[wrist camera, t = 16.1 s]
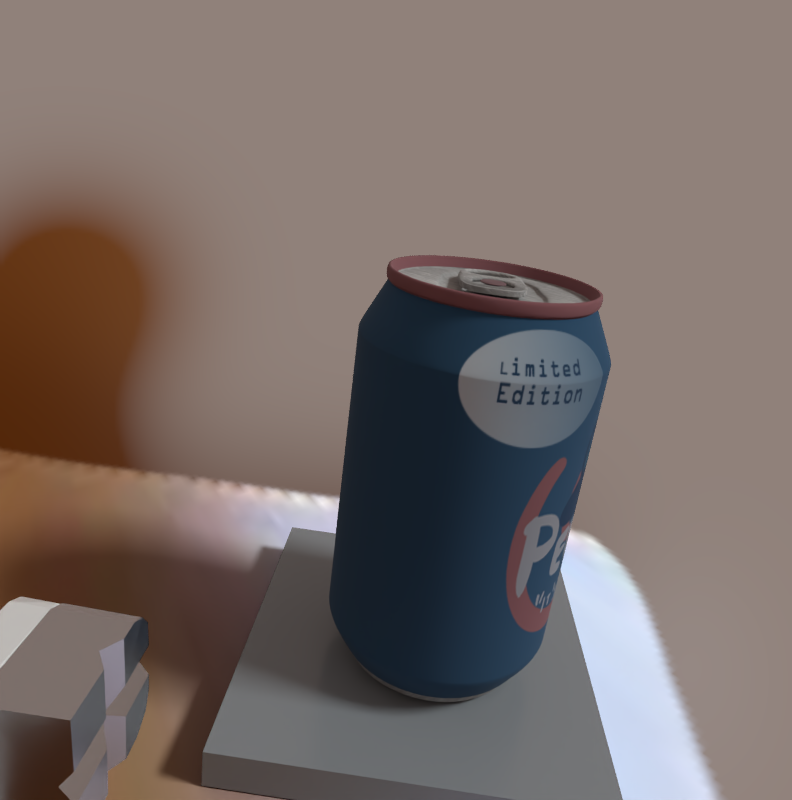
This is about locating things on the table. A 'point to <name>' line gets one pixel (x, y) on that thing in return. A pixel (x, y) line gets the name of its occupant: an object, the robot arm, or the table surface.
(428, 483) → the soda can
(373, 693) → the slate board
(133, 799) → the table surface
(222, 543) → the table surface
